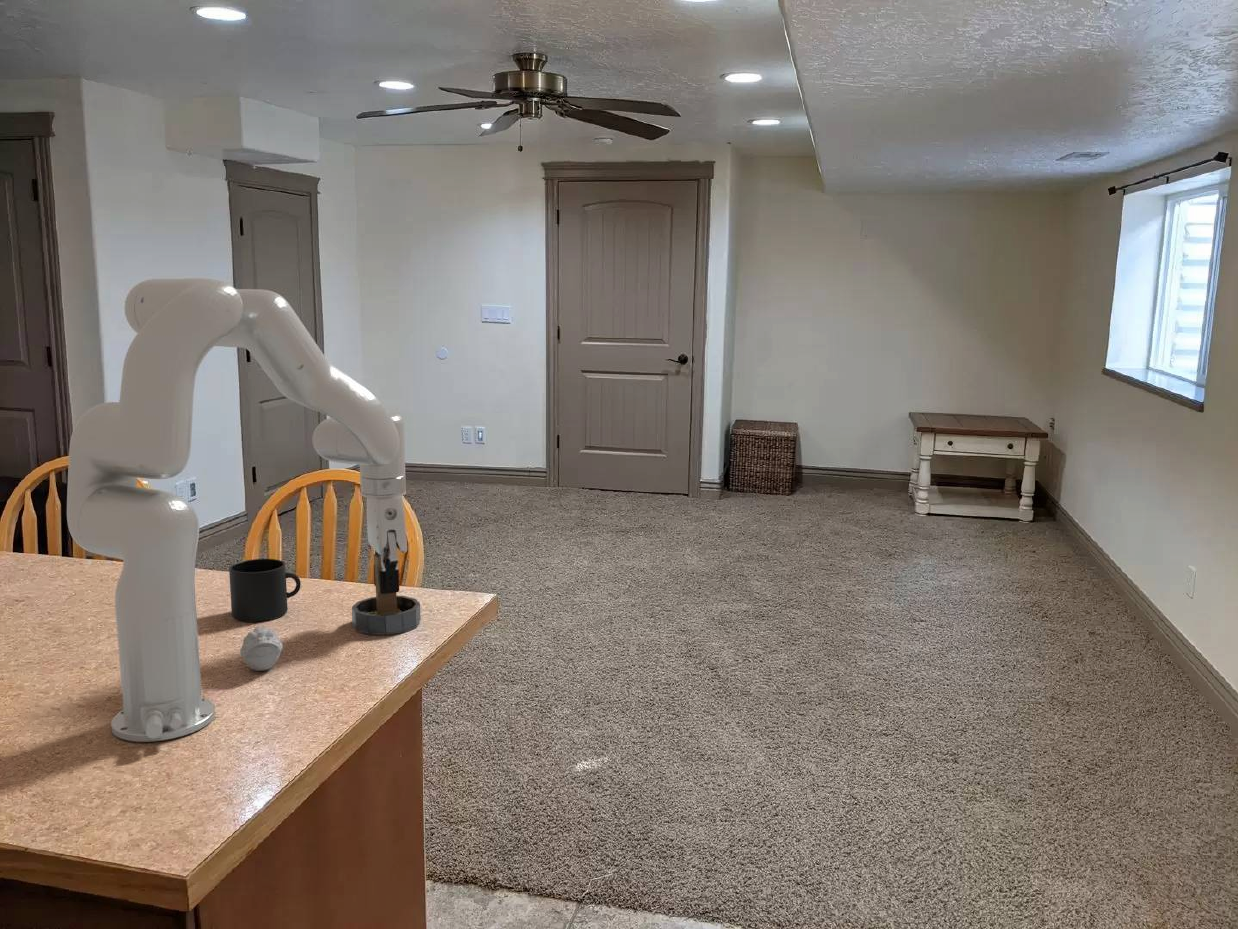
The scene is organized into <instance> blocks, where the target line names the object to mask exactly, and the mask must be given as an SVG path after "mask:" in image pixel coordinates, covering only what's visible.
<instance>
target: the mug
mask: <svg viewBox="0 0 1238 929" xmlns="http://www.w3.org/2000/svg"><path fill="white" fill-rule="evenodd" d="M286 570H287V566H286V562H285V561H283V560H281V559H275V558H274V559H273V558H257V559H254V558H253V559H248V560H247V559H246V560H241V561H239V562H235V563H233V564H231V565H230V566H229V569H228V571H229V572H228V573H229V574H228V575H229V591H230V593H229V594H230V608H231V609H230V610H231V616H232V619H234V620H236V621H240V622H246V623H259V622H267V621H272V620H276V619H279V618H281V617H283V616H285V615H286V614H287V612H288V607H289V606H288V599H290V598H291V597H294V596H295V595H298V593H299V592H300V589H301V585H302V583H301V579H300V578H299V576H298V574H296V573H293V572H287V571H286ZM287 579H293V580H294V581H295V588H294V589H293V590H292V591H290V592H289V591H287V590H288V589H287Z"/></svg>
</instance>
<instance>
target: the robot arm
mask: <svg viewBox="0 0 1238 929" xmlns="http://www.w3.org/2000/svg"><path fill="white" fill-rule="evenodd" d="M124 315H125V318H126V321H127V322H128V324H129V326H130V327H131V328H132V330H133V331H134V332H135V333H136V335H135V337H134V338H133V339H132V341H131V343H130V345H129V347H128V348H127V351H126V354H125V357H124V361H123V365H122V366H123V367H122V375H121V383H120V391H119V392H120V393H119V400H118V401H119V402H113V401H110V402H109V401H108V402H102V403H99V404H95V405H94V406H92V407H91V408H88V409H87V410H86V411H85V412H84V413H83V414H82V415H81V416H80V417H79V419H78V420H77V422H76V424H75V425H74V428H73V429H72V434H71V437H70V439H69V440H70V441H69V449H68V470H67V471H68V472H67V488H66V489H67V490H66V491H67V494H66V521H67V527H68V531H69V533H70V536H71V538H72V539H73V541H74V542H75V543H76V544H77V546H79V547H80V548H82V549H83V550H84V551H86V552H88V553H91V554H96V555H100V556H104V557H109V558H113V559H117V560H122V561H123V564H122V565H123V566H122V570H121V572H120V575H119V578H118V581H117V585H116V587H115V593H114V608H115V609H114V611H115V618H116V630H117V631H116V632H117V633H116V634H117V644H118V646H117V647H118V658H119V672H120V681H121V682H120V683H121V694H122V696H121V697H122V708H123V709H122V710H120V711H119V712H117V714H115V715H114V717H113V718H112V719H111V722H110V725H111V727H110V728H111V731H112V732H111V733H112V734H113V735H114V736H115V737H117V738H119V739H121V740H124V741H129V742H137V743H143V742H144V743H147V742H148V743H151V742H161V741H167V740H172V739H176V738H180V737H184V736H187V735H189V734H192V733H195V732H196V731H200V730H201V729H203V728H204V727H206V726H207V725H209V724H210V723H212V721H213V719H214V718H215V715H216V706H215V704H214V703H213V702H212V701H211V700H209V699H207V698H205V697H203V696H202V694H203V692H202V680H201V678H202V677H201V661H200V646H199V632H198V615H197V603H196V602H197V601H196V587H195V586H196V585H195V583H196V582H195V578H196V577H195V575H196V572H195V571H196V569H195V568H196V558H197V551H198V544H199V537H200V522H199V518H198V515H197V513H196V511H195V509H194V507H193V506H192V505H191V504H190V503H189V502H187V500H185V499H184V498H183V497H180V496H179V495H177V494H174V493H171V492H168V491H166V490H160V489H152V488H147V487H137V481H138V479H139V478H140V479H148V480H149V479H150V480H166V479H170V478H174V477H176V476H177V475H180V474H181V473H182V472H183V471H184V469H185V468H186V467H187V465H188V462H189V460H190V454H191V450H192V449H191V448H192V447H191V446H192V433H193V414H194V413H193V412H194V411H193V410H194V396H195V395H194V392H195V384H196V378H197V374H198V371H199V368H200V365H201V364H202V362H203V360H204V358H205V357H206V356H207V355H208V353H209V352H210V351H211V350H212V349H213V348H214V347H224V348H226V347H227V348H244V349H245V350H247V351H249V353H250V354H251V356H252V357H253V358H254V360H255V361H256V362H257V363H258V365H260V368H261V369H262V370H263V371H264V372H265V374H266V375H267V376H268V378H269V379H270V380H271V382H272V384H273V385H274V386H275V387H276V389H277V391H279V392H280V394H282V396H284V397H285V398H287V399H289V400H291V401H293V402H294V403H296V404H299V405H300V406H303V407H305V408H308V409H310V410H312V411H316V412H318V413H321V414H323V415H325V416H327V418H326V419H324V420H322V421H321V422H319V423H318V425H317V426H316V427H315V429H314V431H313V434H312V445H313V448H314V451H316V453H317V454H318V456H319V457H321V458H323V459H324V460H326V461H330V462H332V463H333V462H334V463H338V464H339V463H340V464H347V465H348V464H349V465H352V464H353V465H359V475H360V476H359V478H360V479H359V481H360V496H361V497H362V498H366V502H365V504H366V530H367V532H366V533H367V541H368V544H369V545H370V547H371V548H373V555H374V554H380V560H381V571H379V576H380V593H381V594H389V593H396V594H397V593H399V592H400V569H399V553H398V550H399V551H400V552H401V553H402V554H405V553H406V552H408V540H407V538H408V537H407V527H406V515H405V506H404V500H403V499H404V498H403V496H405V495H406V494H407V485H406V484H407V482H406V481H407V480H406V478H407V477H406V450H405V449H406V448H405V447H406V446H405V445H406V444H405V423H404V419H403V417H402V416H401V415H400V414H397V413H395V412H394V413H393V412H388V411H387V410H386V408H385V407H384V405H383V404H382V402H381V400H379V399H378V398H377V397H376V396H375V394H373V393H372V392H371V391H370V390H369V389H367V388H366V387H365V386H364V385H362V384H361V383H360V382H358V381H357V380H355V379H354V378H353V377H351V376H349V375H348V374H347V373H346V372H345V371H343V370H341V369H339V368H338V367H337V366H335V365H334V364H333V363H331V362H330V361H329V360H328V359H327V358H326V356H325V355H324V353H323V351H322V350H321V349H320V347H319V345H318V343H316V341H315V339H314V338H313V337H312V335H311V333H310V332H309V331H308V329H307V328H306V326H305V325H304V324H303V322H302V321H301V319H300V317H299V316H298V315H297V314H296V312H295V310H294V309H293V307H292V306H291V305H290V303H289V302H288V301H287V299H286V298H284V297H283V296H282V295H280V294H279V293H277V292H274V291H272V290H269V289H258V288H257V289H256V288H255V289H254V288H248V289H247V288H246V289H245V288H243V289H242V288H235V287H234V286H232V285H231V284H230V283H227V282H225V281H222V280H218V279H212V278H211V279H210V278H199V277H198V278H194V277H193V278H192V277H191V278H189V277H188V278H186V277H185V278H150V279H146V280H143V281H141V282H139V283H137V284H136V285H134V286H133V287H132V288H131V289H130V290H129V292H128V294H127V296H126V298H125V300H124ZM388 552H389V553H388ZM385 557H388V559H386V561H385ZM373 581H374V582H373V583H374V584H373V585H374V587H376V584H375V567H374V566H373Z"/></svg>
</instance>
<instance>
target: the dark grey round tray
mask: <svg viewBox="0 0 1238 929" xmlns="http://www.w3.org/2000/svg"><path fill="white" fill-rule="evenodd" d="M351 615H352V616H351V618H352V625H353V630H355V631H356V632H357V633H360V634H364V635H368V636H379V637H380V636H393V635H394V636H395V635H400V634H404V633H408V632H411V631H413V630H414V629H415V630H416V628H418V627H419V626H420V623H421V603H420V602H419V600H418V599H417V598H413V597H410V596H406V595H397V613H394V614H386V615H380V614H377V601H376V596H373V597H368V598H365V599H364V598H363V599H361V600H359V601H357V602H356V603H355V604H353V606H351ZM418 625H419V626H418ZM417 626H418V627H417Z"/></svg>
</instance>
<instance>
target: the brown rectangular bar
mask: <svg viewBox="0 0 1238 929" xmlns="http://www.w3.org/2000/svg"><path fill="white" fill-rule="evenodd" d="M388 553H389V552H388ZM386 559H388V557H385V561H386ZM373 563H374V564H373V568H374V567H375V584H376V586H375V597H376V601H377V614H380V615H386V614H394V613H397V596H398V595H397V592H396V593H389V594H381V593H380V576H379V571H381V560H380V554H374V553H373Z"/></svg>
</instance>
